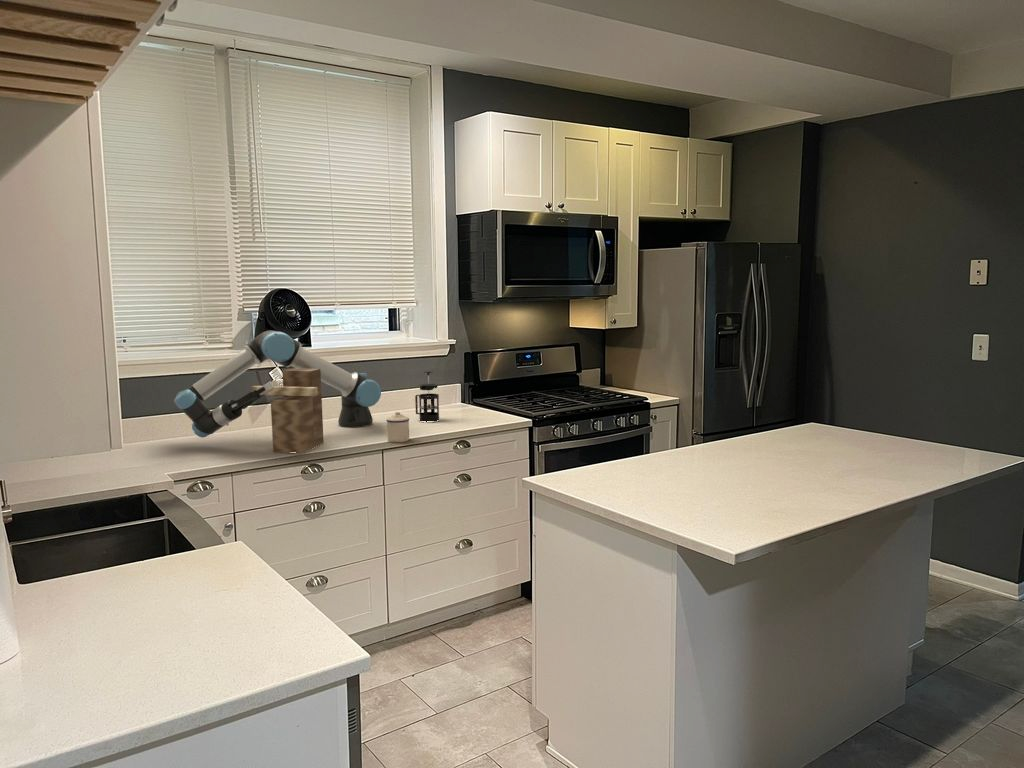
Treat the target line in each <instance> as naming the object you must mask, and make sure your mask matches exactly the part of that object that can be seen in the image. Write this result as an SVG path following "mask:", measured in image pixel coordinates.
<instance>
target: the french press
mask: <svg viewBox="0 0 1024 768" xmlns="http://www.w3.org/2000/svg"><path fill="white" fill-rule="evenodd" d="M433 372H434V371H432V370H426V371H423V373H426V374H427V375H426V376H427V381H428V382H423V383H419V384H418V386H419V390H421V391H428V393H421V394H416V395H414V399H415V415H418V416H419V419H420V421H426V422H427V421H437V420H439V419H440V407H439V406H440V404H439V403H440V400H439V398H440V395H439V394H438V393H430V391H433V390H434V389H437V388H438V386H439V384H438V383H434V382H430V374H432V373H433ZM422 400H423V405H422ZM428 400H430V403H428ZM435 400H436V405H435ZM418 404H419V406H418ZM418 407H419V411H418ZM422 410H423V412H422ZM435 410H436V411H435ZM420 421H419V422H420Z"/></svg>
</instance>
